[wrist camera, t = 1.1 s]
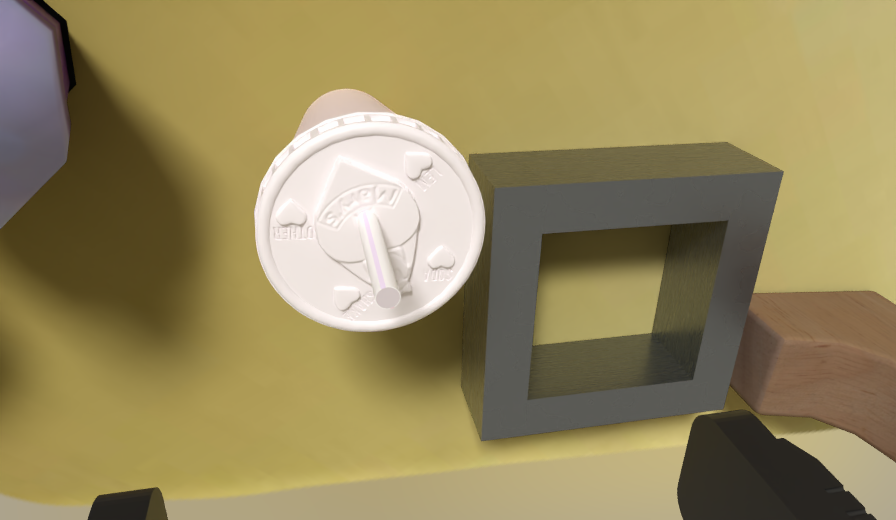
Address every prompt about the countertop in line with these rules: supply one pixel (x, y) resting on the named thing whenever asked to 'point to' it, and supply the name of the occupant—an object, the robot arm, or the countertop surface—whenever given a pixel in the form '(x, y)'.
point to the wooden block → (822, 361)
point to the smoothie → (367, 216)
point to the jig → (680, 299)
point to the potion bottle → (32, 99)
